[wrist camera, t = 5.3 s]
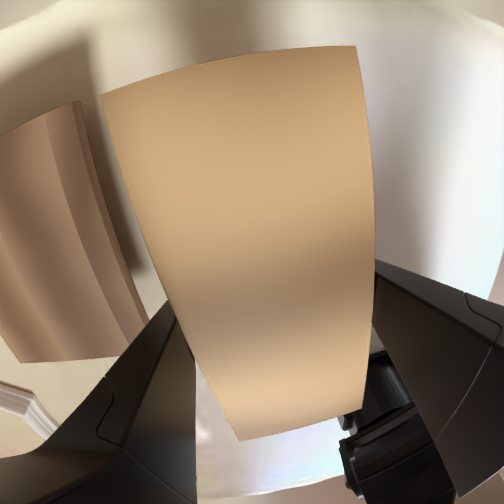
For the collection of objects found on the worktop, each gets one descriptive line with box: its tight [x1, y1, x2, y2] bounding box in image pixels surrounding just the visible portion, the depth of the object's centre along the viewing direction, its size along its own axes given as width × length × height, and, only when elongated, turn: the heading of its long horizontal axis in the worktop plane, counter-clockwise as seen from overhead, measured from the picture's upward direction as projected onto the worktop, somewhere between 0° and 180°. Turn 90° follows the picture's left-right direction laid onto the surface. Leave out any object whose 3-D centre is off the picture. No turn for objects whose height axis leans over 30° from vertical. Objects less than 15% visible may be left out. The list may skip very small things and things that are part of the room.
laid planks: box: [0, 102, 150, 363], centre depth 15 cm, size 12×14×4 cm
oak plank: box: [100, 46, 375, 441], centre depth 9 cm, size 12×5×2 cm, turn 11°
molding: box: [0, 384, 197, 484], centre depth 29 cm, size 42×12×3 cm, turn 35°
